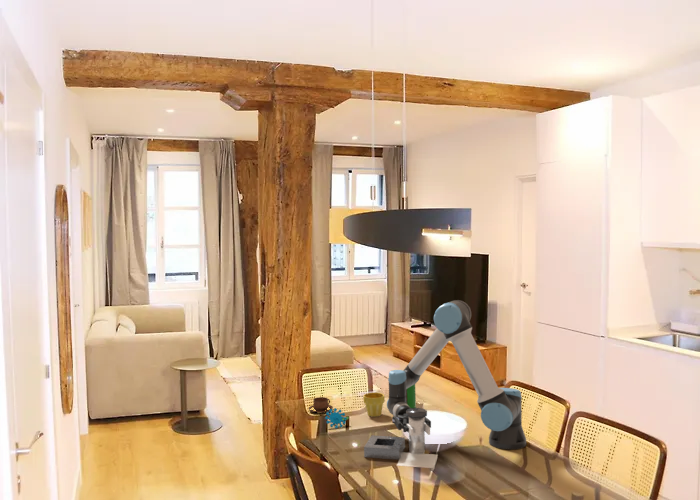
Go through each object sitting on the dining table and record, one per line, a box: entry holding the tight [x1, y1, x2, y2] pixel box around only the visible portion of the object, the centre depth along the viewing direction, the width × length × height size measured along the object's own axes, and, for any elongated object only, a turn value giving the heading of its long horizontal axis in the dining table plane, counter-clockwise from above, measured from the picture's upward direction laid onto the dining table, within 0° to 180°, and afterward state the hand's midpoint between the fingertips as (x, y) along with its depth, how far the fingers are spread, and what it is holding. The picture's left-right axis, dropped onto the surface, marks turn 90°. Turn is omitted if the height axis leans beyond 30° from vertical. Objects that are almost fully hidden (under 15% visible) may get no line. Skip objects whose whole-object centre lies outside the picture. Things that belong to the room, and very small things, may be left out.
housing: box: [363, 434, 406, 461], centre depth 247 cm, size 14×14×5 cm
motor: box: [406, 384, 417, 408], centre depth 309 cm, size 10×9×20 cm
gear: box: [324, 407, 349, 429], centre depth 285 cm, size 11×6×10 cm
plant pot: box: [362, 392, 385, 418], centre depth 300 cm, size 10×10×10 cm
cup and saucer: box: [308, 396, 334, 414], centre depth 308 cm, size 12×12×6 cm
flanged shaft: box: [406, 407, 428, 455], centre depth 238 cm, size 8×8×16 cm
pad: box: [396, 451, 439, 472], centre depth 238 cm, size 14×14×1 cm
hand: (420, 431), depth 232 cm, fingers closed on flanged shaft, 6 cm apart
